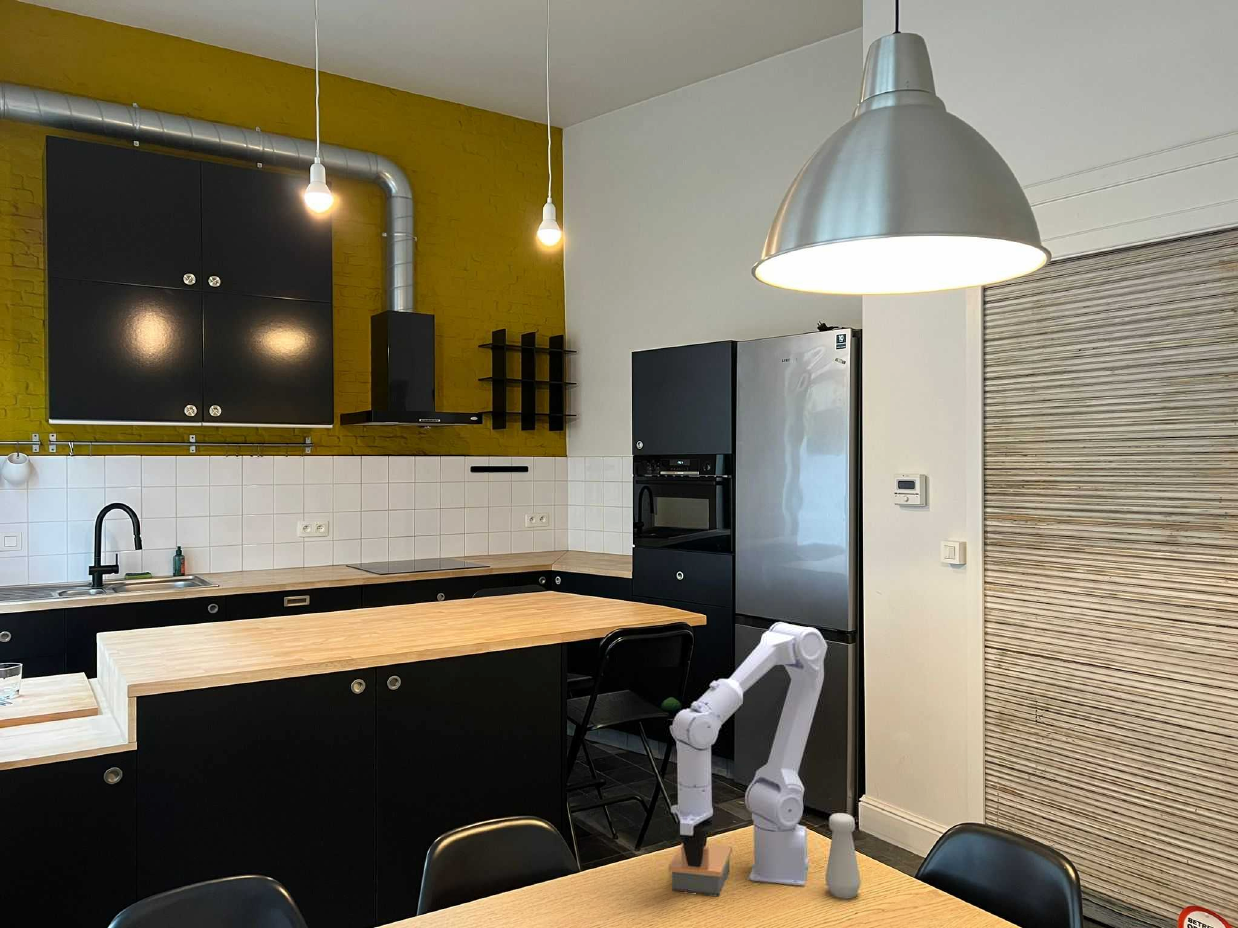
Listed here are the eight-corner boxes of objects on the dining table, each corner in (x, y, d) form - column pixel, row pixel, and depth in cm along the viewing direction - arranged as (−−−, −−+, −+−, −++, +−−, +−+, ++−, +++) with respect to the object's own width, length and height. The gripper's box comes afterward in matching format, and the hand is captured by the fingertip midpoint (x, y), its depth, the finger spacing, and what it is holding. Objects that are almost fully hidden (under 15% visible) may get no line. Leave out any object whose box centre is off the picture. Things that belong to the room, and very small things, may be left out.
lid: (732, 854, 166) (732, 826, 166) (721, 881, 154) (720, 851, 155) (683, 850, 168) (682, 822, 169) (668, 875, 157) (668, 846, 157)
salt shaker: (861, 902, 152) (860, 822, 153) (826, 899, 153) (824, 820, 154) (859, 887, 158) (858, 810, 158) (825, 885, 159) (824, 808, 160)
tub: (729, 871, 165) (729, 851, 166) (718, 896, 155) (718, 875, 155) (685, 866, 168) (685, 846, 168) (672, 891, 157) (672, 870, 157)
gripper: (680, 768, 165) (681, 845, 164) (661, 793, 151) (662, 877, 151) (719, 771, 163) (720, 849, 163) (704, 796, 149) (705, 882, 149)
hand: (695, 863), depth 156 cm, fingers closed on lid
